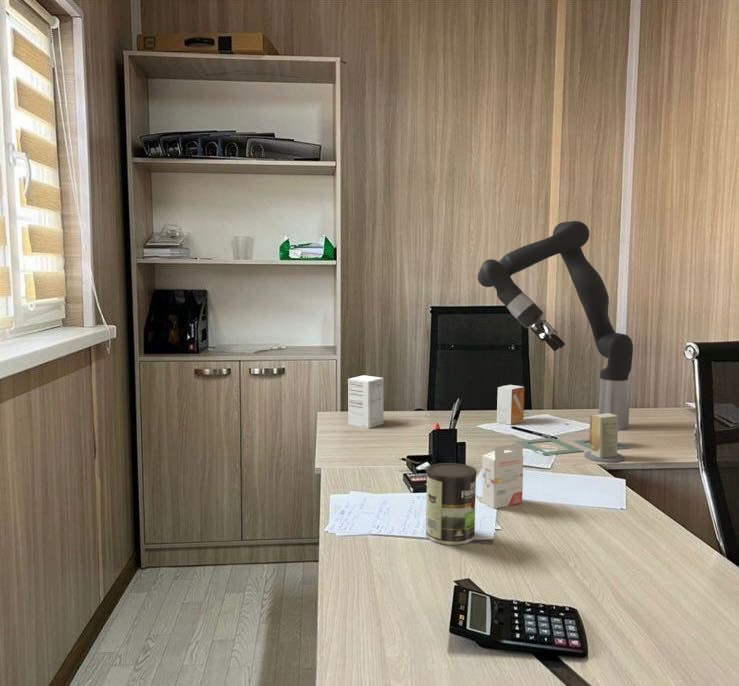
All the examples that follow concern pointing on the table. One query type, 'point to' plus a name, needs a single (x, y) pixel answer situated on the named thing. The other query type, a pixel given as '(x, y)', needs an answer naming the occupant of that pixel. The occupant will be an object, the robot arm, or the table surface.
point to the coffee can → (450, 503)
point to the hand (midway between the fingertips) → (560, 347)
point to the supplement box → (365, 401)
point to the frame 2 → (584, 443)
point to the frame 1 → (571, 448)
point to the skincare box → (604, 435)
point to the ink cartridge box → (503, 476)
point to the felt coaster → (606, 460)
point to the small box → (510, 404)
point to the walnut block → (590, 431)
